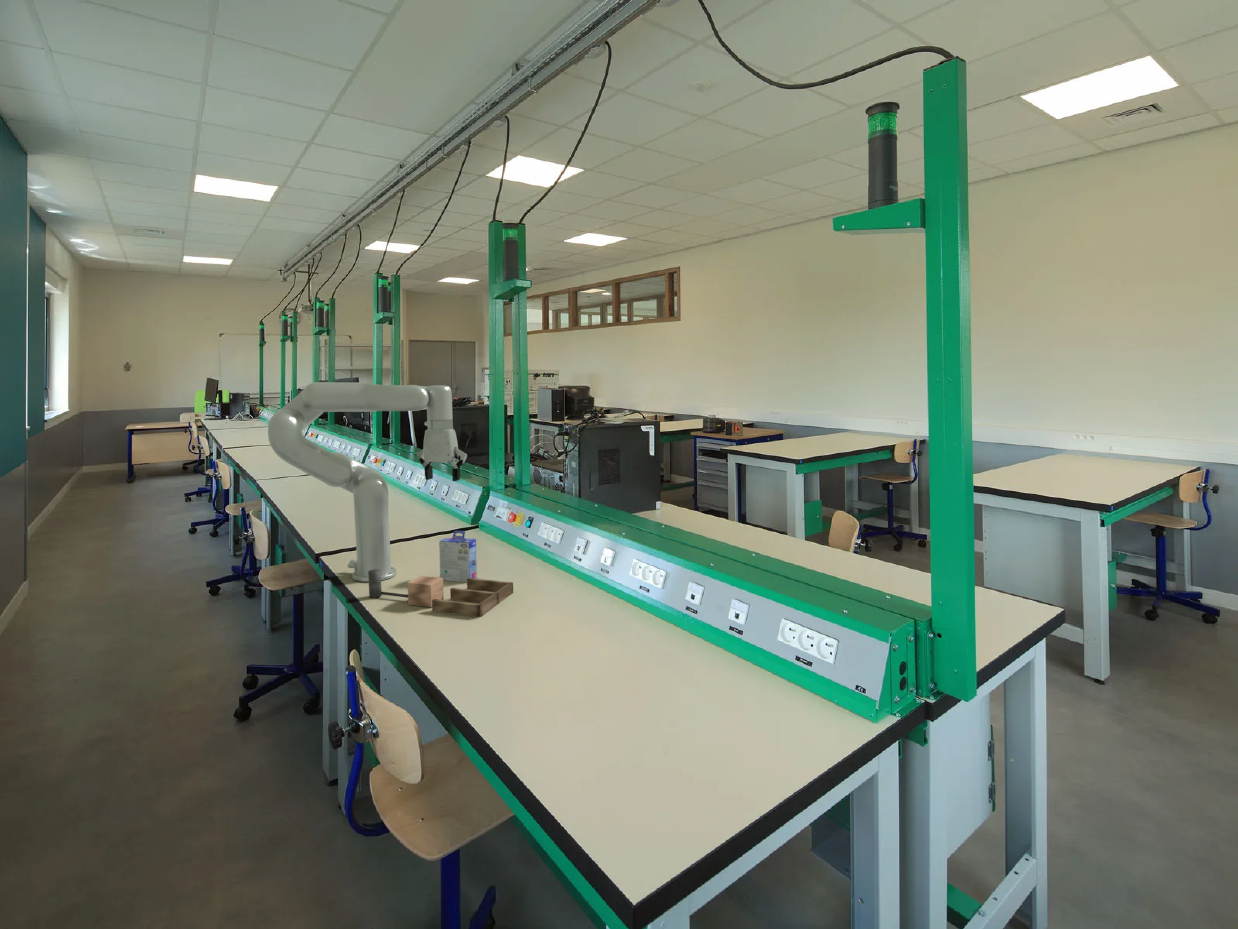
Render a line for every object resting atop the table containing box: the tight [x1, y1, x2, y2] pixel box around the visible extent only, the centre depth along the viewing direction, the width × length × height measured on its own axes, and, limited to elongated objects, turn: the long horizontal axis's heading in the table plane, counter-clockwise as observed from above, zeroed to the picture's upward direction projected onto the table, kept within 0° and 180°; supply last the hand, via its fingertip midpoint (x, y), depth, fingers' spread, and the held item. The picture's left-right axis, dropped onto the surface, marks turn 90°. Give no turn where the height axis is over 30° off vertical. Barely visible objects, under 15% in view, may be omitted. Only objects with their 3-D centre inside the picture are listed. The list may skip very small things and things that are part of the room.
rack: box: [431, 578, 514, 618], centre depth 169 cm, size 14×19×3 cm
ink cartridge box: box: [439, 530, 478, 583], centre depth 187 cm, size 10×6×14 cm, turn 79°
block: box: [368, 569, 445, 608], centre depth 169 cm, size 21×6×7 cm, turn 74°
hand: (442, 479), depth 195 cm, fingers open, 9 cm apart
